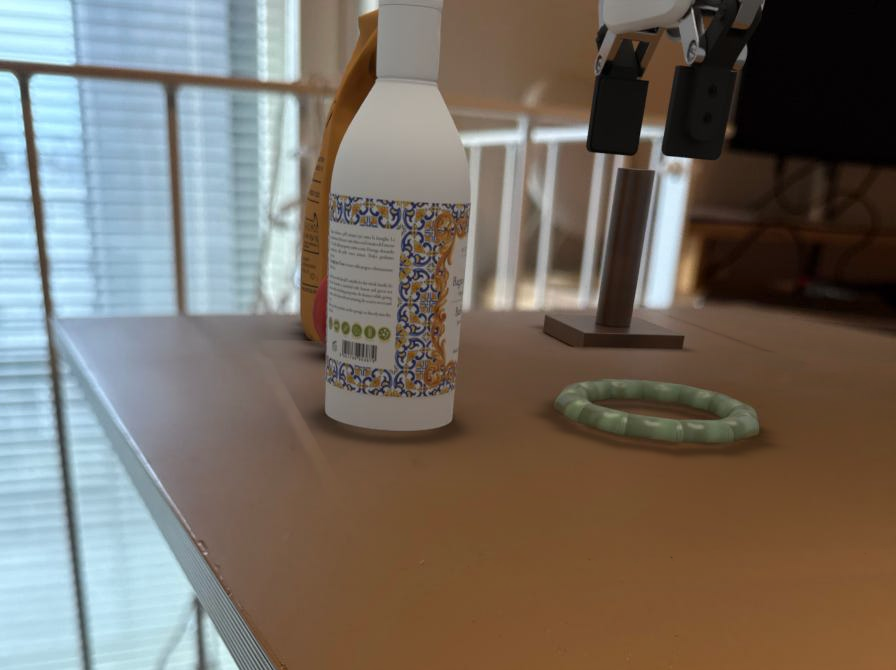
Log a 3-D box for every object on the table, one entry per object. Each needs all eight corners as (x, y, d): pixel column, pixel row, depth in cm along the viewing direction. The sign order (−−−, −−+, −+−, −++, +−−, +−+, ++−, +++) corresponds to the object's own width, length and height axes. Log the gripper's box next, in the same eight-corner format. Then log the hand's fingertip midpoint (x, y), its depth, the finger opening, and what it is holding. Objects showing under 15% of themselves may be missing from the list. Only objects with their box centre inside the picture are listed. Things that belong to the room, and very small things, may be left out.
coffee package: (414, 327, 83) (433, 27, 73) (435, 356, 72) (460, 8, 62) (298, 322, 81) (301, 15, 71) (301, 350, 71) (305, -7, 60)
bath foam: (440, 453, 49) (477, -16, 40) (309, 437, 50) (316, -25, 41) (459, 421, 55) (496, 7, 46) (342, 407, 56) (355, 0, 47)
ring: (692, 405, 63) (697, 377, 62) (795, 457, 53) (803, 425, 52) (526, 404, 60) (529, 375, 59) (602, 458, 50) (608, 424, 49)
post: (634, 334, 88) (661, 170, 82) (681, 353, 80) (715, 174, 74) (542, 331, 86) (563, 163, 80) (582, 351, 78) (608, 167, 72)
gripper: (900, -292, 40) (794, 166, 48) (694, -178, 55) (639, 157, 62) (741, -331, 38) (658, 153, 46) (572, -202, 53) (531, 147, 60)
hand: (647, 155), depth 54 cm, fingers open, 9 cm apart
